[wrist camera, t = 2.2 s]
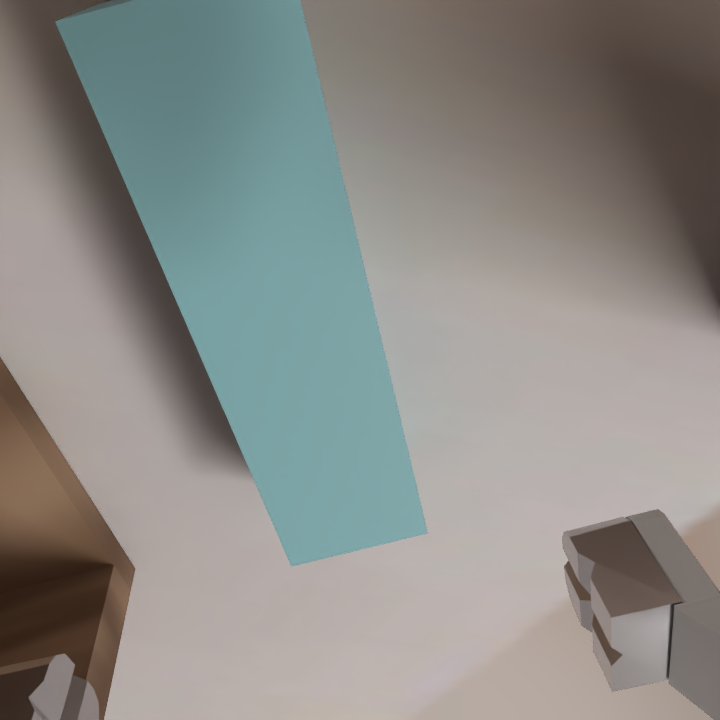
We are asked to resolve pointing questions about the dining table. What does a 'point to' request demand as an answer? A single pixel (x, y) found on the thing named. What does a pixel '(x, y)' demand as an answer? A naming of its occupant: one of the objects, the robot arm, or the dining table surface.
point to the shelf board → (257, 252)
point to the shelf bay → (54, 555)
